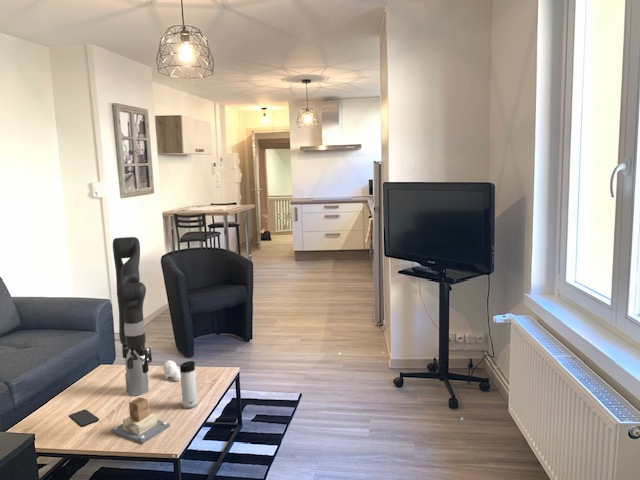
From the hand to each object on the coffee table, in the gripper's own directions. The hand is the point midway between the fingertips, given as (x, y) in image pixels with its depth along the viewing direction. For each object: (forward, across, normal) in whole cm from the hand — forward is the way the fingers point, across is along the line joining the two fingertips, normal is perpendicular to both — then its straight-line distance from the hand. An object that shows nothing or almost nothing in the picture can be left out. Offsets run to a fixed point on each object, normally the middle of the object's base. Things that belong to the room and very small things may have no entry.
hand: (138, 370), depth 193 cm
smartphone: (+25, -28, -7) cm, 38 cm away
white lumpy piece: (+25, -22, +39) cm, 51 cm away
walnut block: (+18, +2, -3) cm, 19 cm away
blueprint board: (+24, +2, -3) cm, 24 cm away
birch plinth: (+22, +2, -3) cm, 23 cm away
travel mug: (+24, +6, +21) cm, 32 cm away
